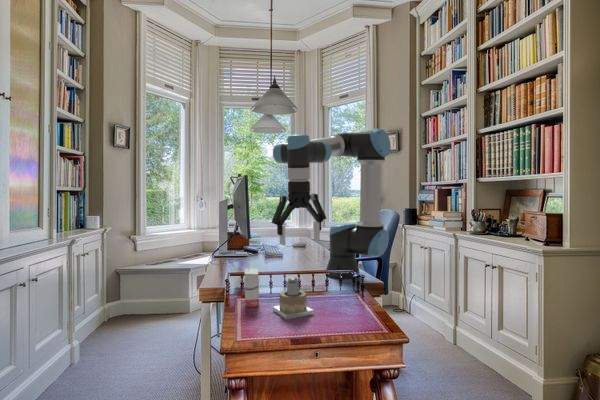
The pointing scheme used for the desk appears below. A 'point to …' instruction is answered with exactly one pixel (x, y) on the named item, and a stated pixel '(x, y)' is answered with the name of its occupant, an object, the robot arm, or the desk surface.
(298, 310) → the collar
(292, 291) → the post
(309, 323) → the desk surface
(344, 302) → the desk surface
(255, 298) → the ink box
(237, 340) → the desk surface
